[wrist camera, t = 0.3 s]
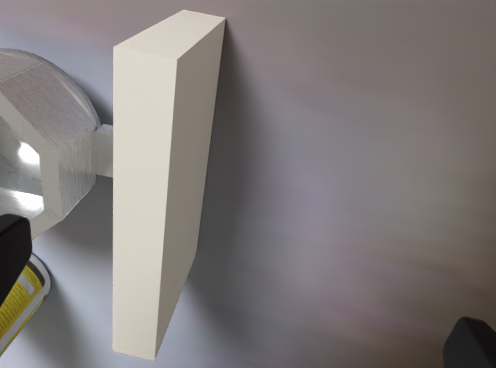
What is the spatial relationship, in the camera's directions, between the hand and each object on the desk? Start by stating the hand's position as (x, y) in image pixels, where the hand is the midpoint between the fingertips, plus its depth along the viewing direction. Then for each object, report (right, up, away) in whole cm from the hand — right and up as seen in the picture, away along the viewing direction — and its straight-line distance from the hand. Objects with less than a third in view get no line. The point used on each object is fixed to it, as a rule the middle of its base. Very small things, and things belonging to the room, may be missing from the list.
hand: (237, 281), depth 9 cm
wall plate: (-3, +4, +15) cm, 16 cm away
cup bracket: (-10, +5, +14) cm, 17 cm away
